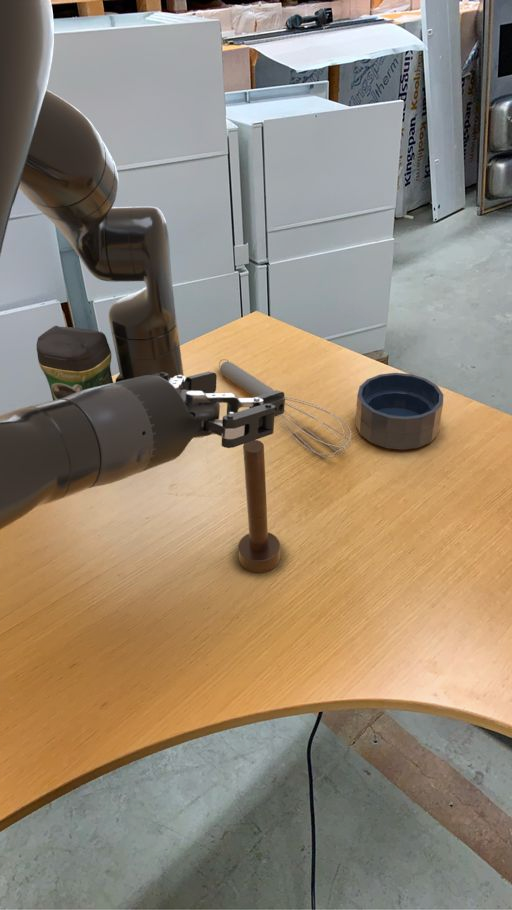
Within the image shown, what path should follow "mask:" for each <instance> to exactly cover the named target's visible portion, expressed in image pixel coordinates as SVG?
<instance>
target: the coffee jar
mask: <svg viewBox="0 0 512 910" xmlns="http://www.w3.org/2000/svg"><path fill="white" fill-rule="evenodd" d="M36 353H37V361H38V365H39V367H40V369H41V371H42V372H43V374H44V376H45V379H46V381H47V383H48V386H49V390H50V393H51V398H52V401H54V400H58V399H61V398H64V397H66V396H69V395H71V394H73V393H76V392H79V391H82V390H85V389H89V388H93V387H97V386H102V385H106V384H110V383H114V380H113V376H112V370H111V363H112V350H111V347H110V344H109V342H108V338H107V337H106V335H105V333H104V332H102V331H99V330H91V329H85V328H79V327H71V326H59V325H54V326H52V327H50V328H49V329H47V330H46V331H44V333H42V334H40V335H39V336H38V337H37V341H36Z"/></svg>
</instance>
